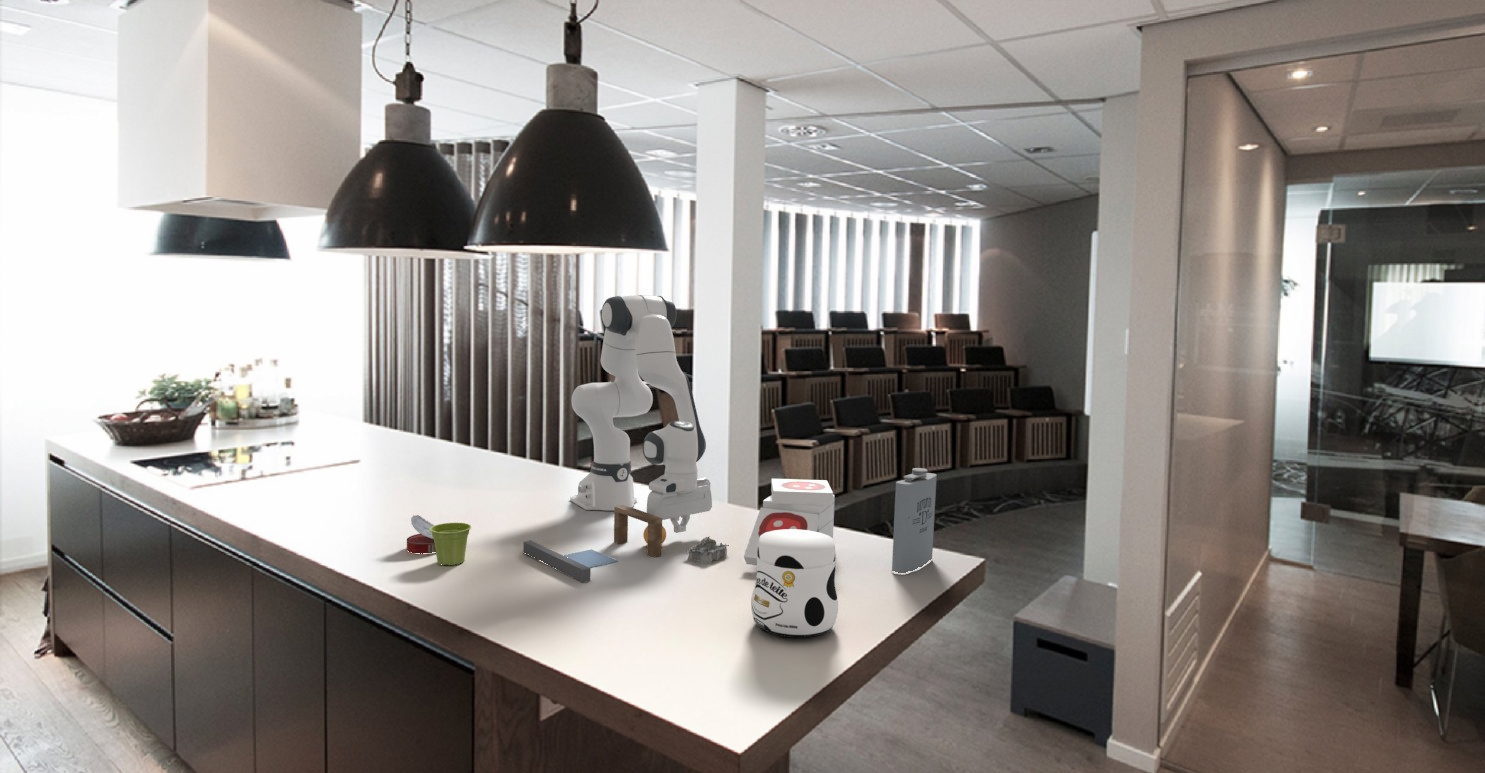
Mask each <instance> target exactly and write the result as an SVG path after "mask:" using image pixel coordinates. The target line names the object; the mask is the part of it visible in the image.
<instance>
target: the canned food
mask: <svg viewBox="0 0 1485 773" xmlns="http://www.w3.org/2000/svg"><path fill="white" fill-rule="evenodd" d="M410 519H411V520H410V522H411V523H410V524H411V526H412V527H413V528H414V530H415V531H416V532H418V534H413V535H410V536H408V537H407V538H406V551H407V550H408V551H409V552H412V553H420V554H421V553H422V554H423V553H432V552H436V549H435V543H434V538H433V536H432V532H431V531H430V528H431V527H432V526H435V525H436V524H433V523H431V522H429V521H428V520H426V519H425V518H424V517H422V516H421V515H419V514H416V515H413V516H412V517H411V518H410ZM409 552H408V553H409Z"/></svg>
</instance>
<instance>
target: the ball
mask: <svg viewBox="0 0 1485 773" xmlns="http://www.w3.org/2000/svg"><path fill="white" fill-rule="evenodd" d="M642 535H643V539H644V540H643V541H644V542H645V543H646V545H648V525H647V526H646V527H645V529H644V531H643V534H642ZM666 538H667V531H666V529H665V527H664V526H663V525H662V544H663V543H665V540H666Z"/></svg>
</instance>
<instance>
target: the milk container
mask: <svg viewBox="0 0 1485 773" xmlns="http://www.w3.org/2000/svg"><path fill="white" fill-rule="evenodd" d="M757 555H758V557H757V565H756V580H755V583H754V584H755V585H754V587H753V588H754V589H753V591H752V595H751V601H750V602H751V603H750V606H751V607H750V608H751V613H752V619H753V621H754V622H755V624H756V625H757V626H758V627H759V628H760V629H762V630H763V631H766V632H768V633H770V634H772V635H776V636H780V637H787V638H811V637H817V636H820V635H822V634H825V633H827V632H828V631H830V630H831V629H832V628H833V627H834V625H835V624H836V622H837V618H838V614H839V599H838V594H837V590H836V583H835V577H836V563H837V562H836V542H835V539H834V537H833V538H831V537H830V536H828V535H825V534H823V533H819V532H814V531H809V530H799V529H783V530H774V531H770V532H766V533H764V534H762V535H761V536H760V538H759V543H758V551H757Z"/></svg>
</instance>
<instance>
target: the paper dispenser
mask: <svg viewBox="0 0 1485 773" xmlns="http://www.w3.org/2000/svg"><path fill="white" fill-rule="evenodd" d="M770 486H771V487H770V491H771V495H769V496H768V497H766V498H765V499H763V500H762V507H760V509H759V511H758V515H757V518H756V520H755V523H754V526H753V529H752V531H751V535H750V537H749V541H748V543H747V546H746V549H745V552H744V555H743V559H744V561H745V564H746V565H750V566H751V565H752V566H757V557H758V555H757V551H758V543H759V538H760V536H761V535H762V534H764V533H766V532H770V531H774V530H783V529H799V530H809V531H814V532H819V533H823V534H825V535H828V536H830V537H831V538H833V539H834V519H835V518H834V517H835V500H836V498H835V496H836V495H835V494H834V491H833V490H832V488H831V486H830V484H829V482H828V480H826V479H825V480H824V479H821V480H820V479H796V478H795V479H794V478H771V484H770Z"/></svg>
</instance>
